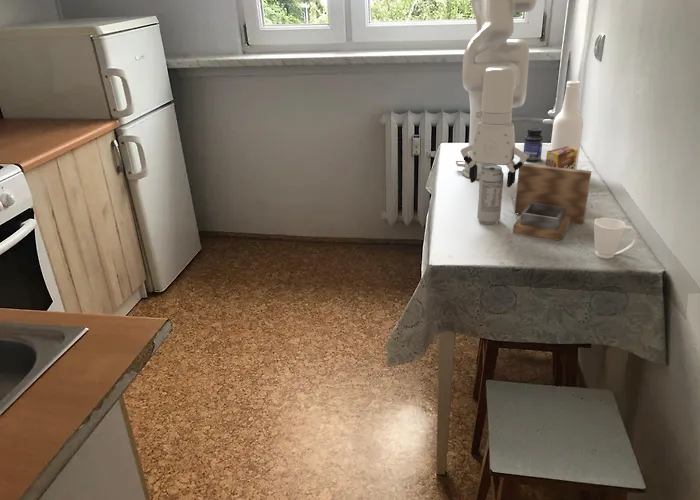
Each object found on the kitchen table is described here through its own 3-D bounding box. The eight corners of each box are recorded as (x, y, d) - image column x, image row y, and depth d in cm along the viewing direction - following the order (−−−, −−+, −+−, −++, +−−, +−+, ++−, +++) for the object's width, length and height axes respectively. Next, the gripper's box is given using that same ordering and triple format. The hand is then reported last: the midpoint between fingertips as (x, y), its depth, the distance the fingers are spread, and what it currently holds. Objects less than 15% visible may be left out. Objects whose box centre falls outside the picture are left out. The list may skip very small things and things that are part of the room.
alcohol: (546, 171, 195) (556, 79, 182) (573, 171, 193) (586, 79, 180) (548, 179, 187) (560, 83, 174) (577, 180, 185) (591, 84, 172)
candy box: (551, 206, 166) (557, 154, 159) (539, 201, 169) (545, 150, 163) (571, 199, 170) (578, 148, 164) (559, 195, 173) (565, 145, 167)
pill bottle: (542, 162, 204) (546, 130, 199) (525, 162, 204) (528, 131, 199) (537, 157, 209) (541, 126, 205) (520, 157, 209) (523, 127, 205)
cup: (584, 248, 140) (589, 217, 137) (627, 248, 140) (633, 216, 136) (594, 261, 134) (599, 229, 131) (638, 261, 133) (645, 228, 130)
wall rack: (501, 230, 151) (505, 179, 145) (516, 211, 163) (521, 163, 157) (573, 242, 143) (581, 189, 137) (583, 221, 155) (591, 171, 149)
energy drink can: (500, 217, 159) (504, 164, 153) (499, 225, 154) (503, 171, 148) (477, 215, 161) (481, 163, 155) (476, 224, 156) (479, 170, 149)
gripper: (458, 118, 146) (455, 183, 153) (527, 123, 139) (520, 191, 146) (467, 113, 152) (464, 175, 159) (534, 117, 144) (528, 183, 151)
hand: (491, 183), depth 152 cm, fingers open, 9 cm apart
